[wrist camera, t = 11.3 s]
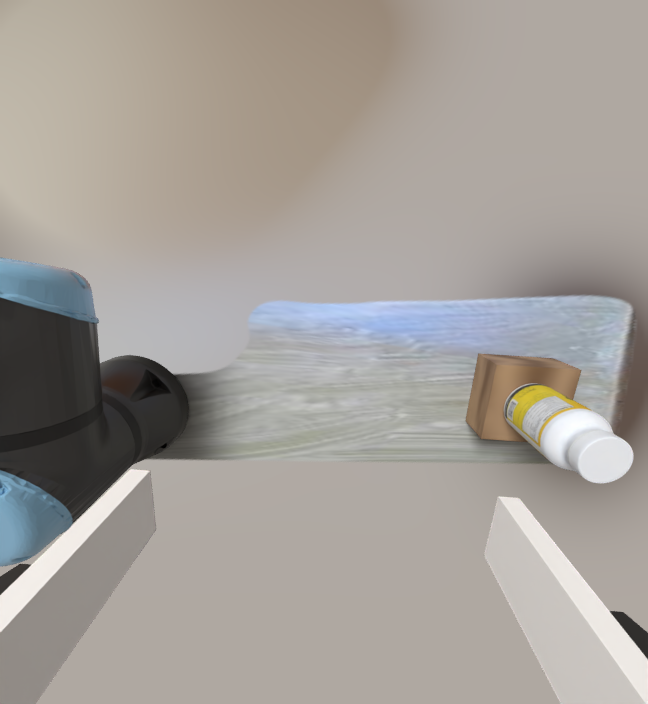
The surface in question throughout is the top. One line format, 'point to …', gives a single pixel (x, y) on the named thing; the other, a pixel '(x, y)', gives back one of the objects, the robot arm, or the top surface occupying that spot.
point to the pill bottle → (568, 433)
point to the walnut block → (511, 389)
